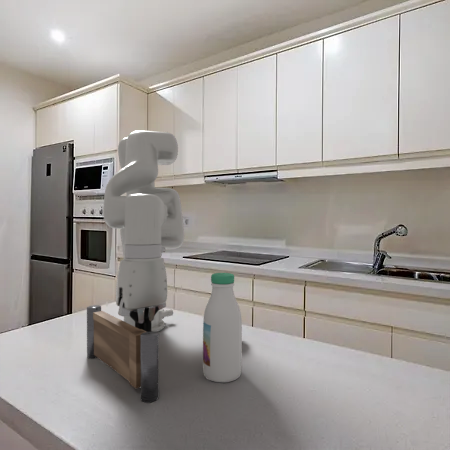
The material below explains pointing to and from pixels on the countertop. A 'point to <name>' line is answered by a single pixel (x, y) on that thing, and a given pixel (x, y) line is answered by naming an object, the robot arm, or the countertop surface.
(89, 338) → the hinge post
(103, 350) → the walnut gate
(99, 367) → the countertop surface
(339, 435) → the countertop surface
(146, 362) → the post
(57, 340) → the countertop surface
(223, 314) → the milk bottle
